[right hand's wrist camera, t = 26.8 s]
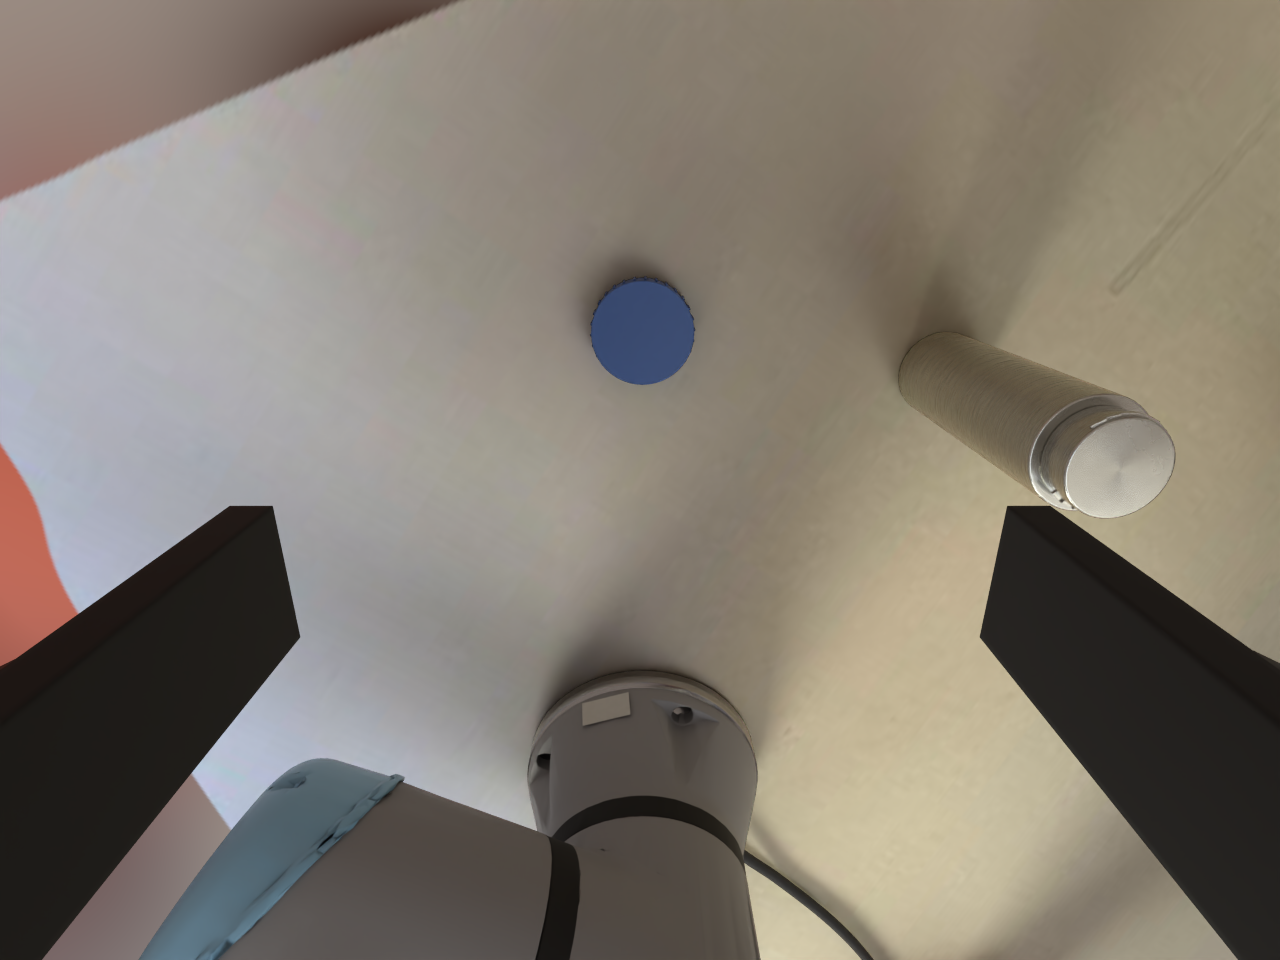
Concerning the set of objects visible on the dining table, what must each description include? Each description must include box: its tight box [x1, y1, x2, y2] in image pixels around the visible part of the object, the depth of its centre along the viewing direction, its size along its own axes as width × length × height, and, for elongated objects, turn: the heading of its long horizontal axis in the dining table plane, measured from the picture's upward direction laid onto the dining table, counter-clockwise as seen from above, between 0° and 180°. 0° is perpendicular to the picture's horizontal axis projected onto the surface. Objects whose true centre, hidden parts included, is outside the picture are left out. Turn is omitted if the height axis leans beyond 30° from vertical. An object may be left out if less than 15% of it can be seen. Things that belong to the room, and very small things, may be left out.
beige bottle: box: [899, 332, 1175, 518], centre depth 31 cm, size 4×4×15 cm
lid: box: [590, 276, 695, 385], centre depth 36 cm, size 5×5×2 cm
